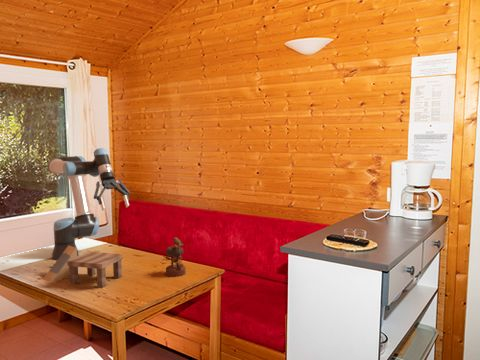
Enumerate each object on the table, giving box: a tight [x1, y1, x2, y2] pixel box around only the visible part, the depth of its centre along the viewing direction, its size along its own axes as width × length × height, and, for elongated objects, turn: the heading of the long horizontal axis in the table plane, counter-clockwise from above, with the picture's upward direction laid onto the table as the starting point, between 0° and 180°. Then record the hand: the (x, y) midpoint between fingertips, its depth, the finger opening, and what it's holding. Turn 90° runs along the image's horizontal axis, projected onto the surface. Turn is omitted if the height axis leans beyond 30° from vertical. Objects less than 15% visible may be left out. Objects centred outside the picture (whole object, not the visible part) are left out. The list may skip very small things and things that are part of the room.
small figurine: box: [163, 237, 187, 278], centre depth 223 cm, size 15×11×20 cm
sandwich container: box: [42, 245, 78, 283], centre depth 220 cm, size 9×15×15 cm, turn 141°
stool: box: [67, 251, 124, 289], centre depth 214 cm, size 20×18×12 cm
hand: (116, 207), depth 228 cm, fingers open, 13 cm apart
